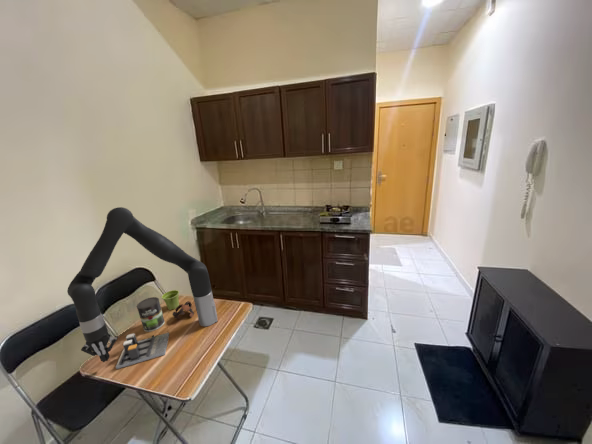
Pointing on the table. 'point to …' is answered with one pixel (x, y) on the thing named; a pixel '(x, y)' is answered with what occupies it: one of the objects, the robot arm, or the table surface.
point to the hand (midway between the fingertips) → (105, 360)
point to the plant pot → (171, 299)
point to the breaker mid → (127, 345)
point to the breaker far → (132, 338)
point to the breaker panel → (145, 350)
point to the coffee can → (150, 314)
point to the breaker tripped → (133, 351)
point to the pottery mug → (181, 311)
